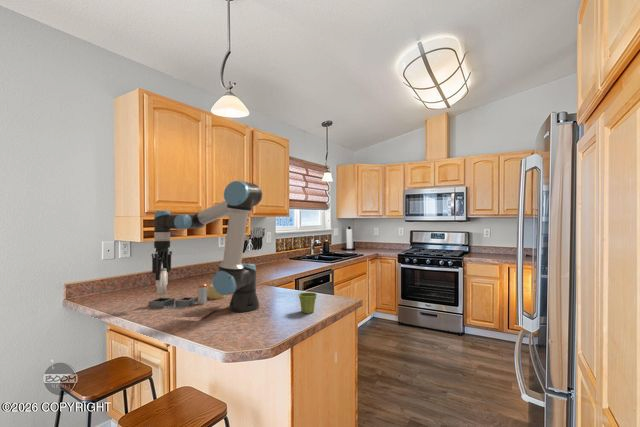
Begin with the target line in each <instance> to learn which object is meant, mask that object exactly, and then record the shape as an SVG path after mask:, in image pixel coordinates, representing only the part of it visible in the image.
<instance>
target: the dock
mask: <svg viewBox="0 0 640 427" xmlns="http://www.w3.org/2000/svg"><path fill="white" fill-rule="evenodd" d="M195 304H198V297H196V296H183V297H180V298H177V299H175V297H157V298H155V299H152V300H150V301H148V307H147V308H148V309H163V310H164V309H167V310H185V309H188V308H190V307H192V306H194V305H195Z"/></svg>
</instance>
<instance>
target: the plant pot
mask: <svg viewBox="0 0 640 427" xmlns="http://www.w3.org/2000/svg"><path fill="white" fill-rule="evenodd" d="M297 295H298V298H299V302H300V309H301V313H303V314H312V313H314V312H315V304H316V299H317V296H318V293H316V292H308V291H307V292H300V293H298V294H297Z"/></svg>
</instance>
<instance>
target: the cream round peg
mask: <svg viewBox="0 0 640 427" xmlns="http://www.w3.org/2000/svg"><path fill="white" fill-rule="evenodd" d="M161 274H162V286H161V287H159V286H156V295H166V294H167V285H166V281H167V268H163V267H161Z"/></svg>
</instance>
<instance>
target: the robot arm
mask: <svg viewBox="0 0 640 427" xmlns="http://www.w3.org/2000/svg"><path fill="white" fill-rule="evenodd" d="M223 198H224V200H223V201H222V202H219V203H217V204H214V205H212V206H210V207H208V208H206V209H203V210H201V211H199V212H196V213H194V214H185V213H184V214H183V213H181V214H179V213H178V214H172V213H171V211H170V210H156V211H155V212H154V218H153V222H154V225H153V226H154V228H153V230H154V236H153V238H154V239H153V240H154V242H153V248H154V249H155V252H154V253H151V262H152V265H151V267H152V268H151V270H152V272H151V273H153V274H155V287H157V286H159V287H161V286H162V274H161V268H167V281H166V286H167V285H169V283H168V282H169V279H168V278H169V272H170V271H171V269H172V254H173V251H170V250H169V248H170V247H171V230H188V229H189V230H190V229H202V228H204V227H206V225H207V224H209V223H212V222H215V221H217V220H219V219H221V218H223V217H226V216H228V220H227V221H228V222H227V229H226V237H225V245H224V250H223V258H222V261H221V263H219V264H218V271H216V272H215V273H214V275H213V277H212V282H211V283H212V284H213V287H214V289H215V290H216V291H217V292H218V293H219V294H221V295H227V296H229V295H232V296H231V300H230V302H229V305H228V306H229V310H230V311H232V312H237V313H238V312H239V313H241V312H242V313H244V312H245V313H246V312H251V311H255V310H258V309H259V308H260V301H259V298H258V295H257V288H256V287H257V267H256V265H255V263H242V261H243V260H242V259H243V252H244V245H245V237H246V231H247V230H246V229H247V224H248V223H247V222H248V216H249V214H251V212H252V209H253V207H256V206H257V205H259V204H260V202H261V201H262V199H263V192H262V189H261V187H259V186H258V185H257V184H255V183H251V182H248V181H244V180H233V181H231V182H229V183H228V184H227V185H226V186H225V188H224V191H223Z"/></svg>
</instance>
